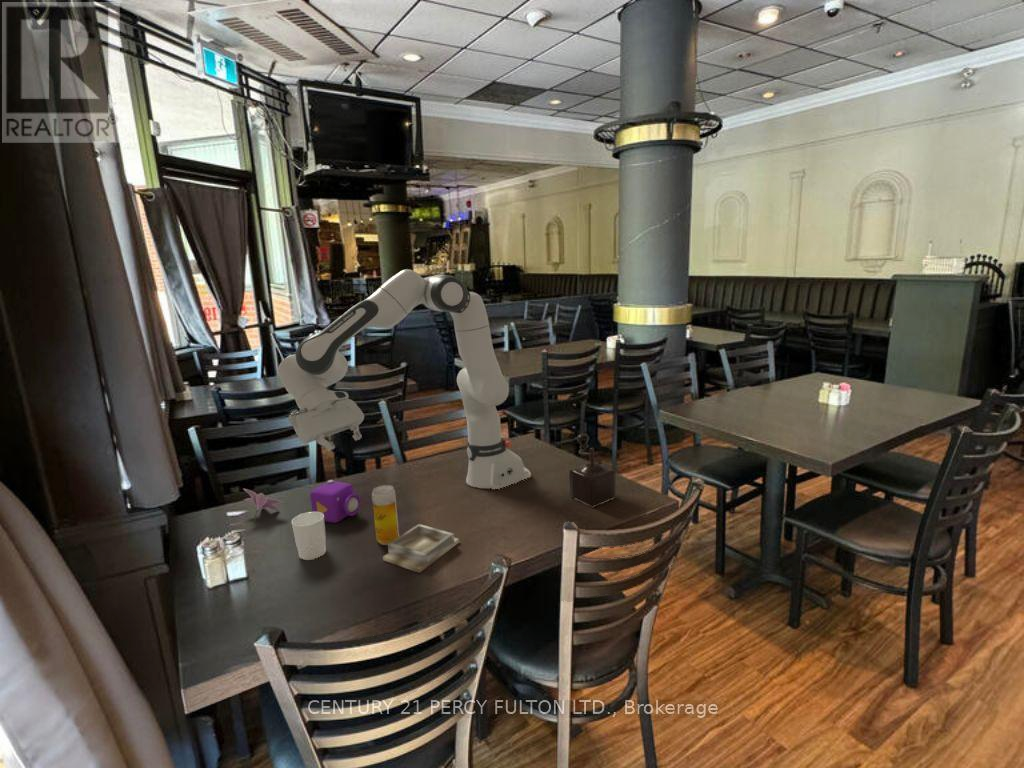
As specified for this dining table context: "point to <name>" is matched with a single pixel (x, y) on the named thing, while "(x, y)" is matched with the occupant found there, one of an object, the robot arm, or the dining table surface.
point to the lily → (262, 501)
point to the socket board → (419, 547)
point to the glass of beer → (385, 514)
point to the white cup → (309, 535)
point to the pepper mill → (591, 478)
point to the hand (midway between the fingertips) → (345, 443)
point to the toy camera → (335, 501)
